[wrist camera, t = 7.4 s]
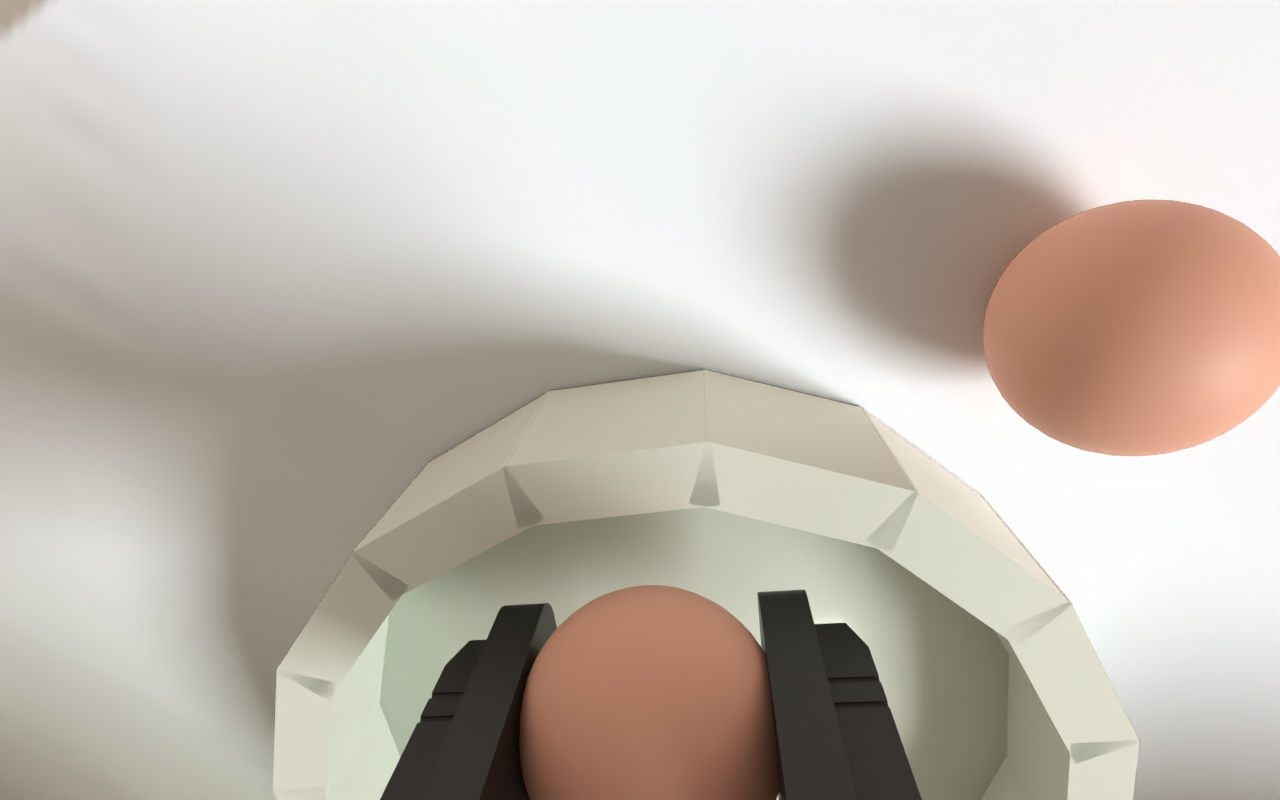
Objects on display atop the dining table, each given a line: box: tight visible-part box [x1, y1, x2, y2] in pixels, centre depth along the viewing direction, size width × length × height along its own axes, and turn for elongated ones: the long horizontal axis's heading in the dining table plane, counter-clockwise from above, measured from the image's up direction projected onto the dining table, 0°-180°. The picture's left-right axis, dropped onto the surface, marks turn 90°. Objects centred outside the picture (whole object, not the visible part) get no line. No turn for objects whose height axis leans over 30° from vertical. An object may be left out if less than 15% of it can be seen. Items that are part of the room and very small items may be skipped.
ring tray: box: [272, 370, 1140, 800], centre depth 13 cm, size 15×15×3 cm
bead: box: [519, 585, 779, 800], centre depth 9 cm, size 4×4×4 cm
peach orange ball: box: [983, 200, 1280, 456], centre depth 10 cm, size 4×4×4 cm
